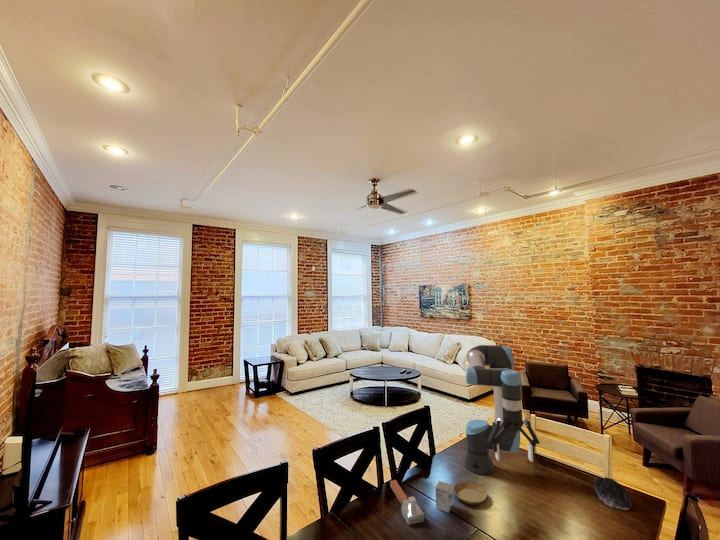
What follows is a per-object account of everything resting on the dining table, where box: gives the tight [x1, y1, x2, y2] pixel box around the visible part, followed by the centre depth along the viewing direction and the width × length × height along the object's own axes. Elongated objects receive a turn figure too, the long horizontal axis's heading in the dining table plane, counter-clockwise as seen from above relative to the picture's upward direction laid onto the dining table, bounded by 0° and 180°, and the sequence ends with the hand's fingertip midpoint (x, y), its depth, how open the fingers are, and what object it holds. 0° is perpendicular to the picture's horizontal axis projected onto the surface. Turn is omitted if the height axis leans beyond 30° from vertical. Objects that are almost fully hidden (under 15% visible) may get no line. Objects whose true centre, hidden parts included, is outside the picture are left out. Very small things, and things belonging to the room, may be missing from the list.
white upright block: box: [435, 480, 453, 514], centre depth 139 cm, size 6×6×9 cm
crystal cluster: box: [592, 476, 633, 511], centre depth 142 cm, size 13×14×10 cm
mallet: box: [389, 479, 425, 526], centre depth 142 cm, size 26×7×8 cm, turn 15°
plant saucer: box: [452, 481, 488, 506], centre depth 145 cm, size 15×15×3 cm
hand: (514, 459), depth 133 cm, fingers open, 13 cm apart
